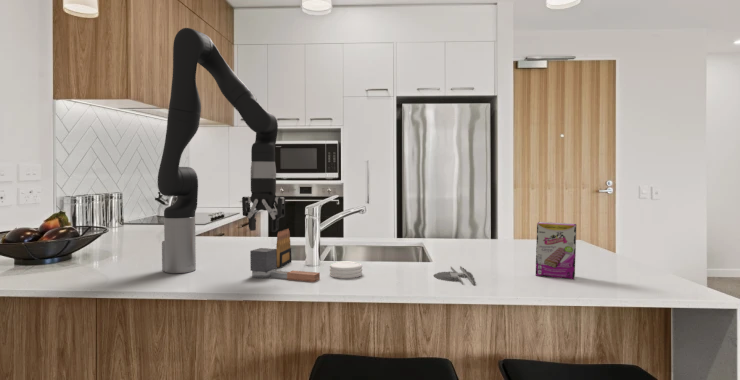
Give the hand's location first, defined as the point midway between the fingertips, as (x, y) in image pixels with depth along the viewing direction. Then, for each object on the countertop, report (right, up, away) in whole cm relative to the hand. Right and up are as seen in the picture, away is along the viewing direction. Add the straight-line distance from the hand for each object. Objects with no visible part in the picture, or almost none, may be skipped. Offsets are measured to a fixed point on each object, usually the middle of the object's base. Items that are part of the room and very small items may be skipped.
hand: (263, 230), depth 141 cm
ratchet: (+7, -14, -2) cm, 16 cm away
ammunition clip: (+3, -13, +18) cm, 22 cm away
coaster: (+25, -14, +2) cm, 29 cm away
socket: (0, -12, 0) cm, 12 cm away
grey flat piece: (+59, -15, +1) cm, 61 cm away
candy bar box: (+89, -14, +1) cm, 90 cm away
